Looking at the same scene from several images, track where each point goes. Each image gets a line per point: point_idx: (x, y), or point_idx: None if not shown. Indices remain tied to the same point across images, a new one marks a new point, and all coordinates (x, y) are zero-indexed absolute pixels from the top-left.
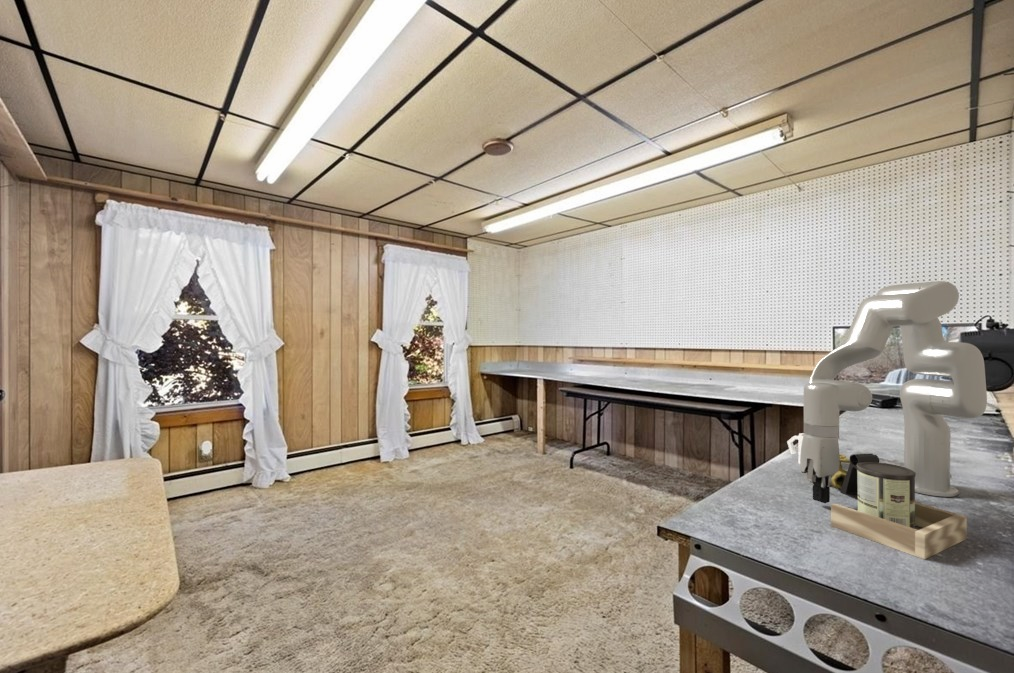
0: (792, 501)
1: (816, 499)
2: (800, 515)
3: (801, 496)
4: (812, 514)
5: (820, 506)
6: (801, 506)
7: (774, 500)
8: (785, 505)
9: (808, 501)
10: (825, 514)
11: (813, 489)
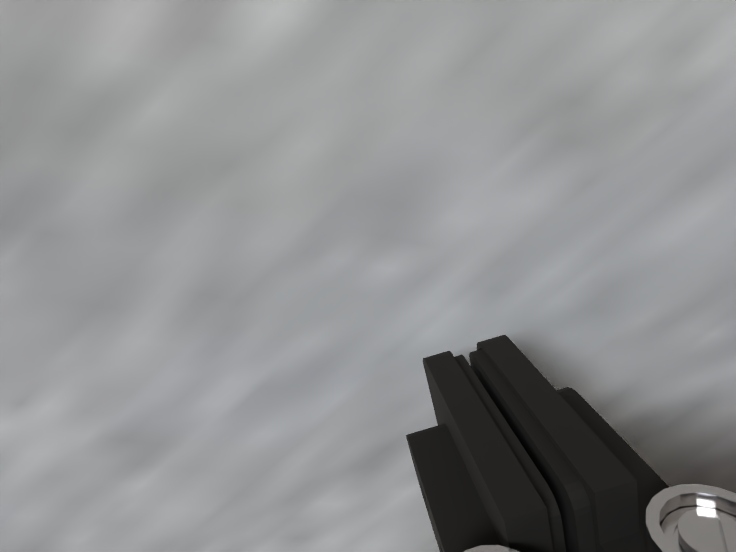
0: (267, 147)
1: (432, 400)
2: (38, 502)
3: (552, 18)
4: (193, 496)
5: (465, 347)
6: (250, 310)
7: (11, 42)
8: (58, 244)
9: (474, 197)
10: (326, 508)
11: (466, 456)
